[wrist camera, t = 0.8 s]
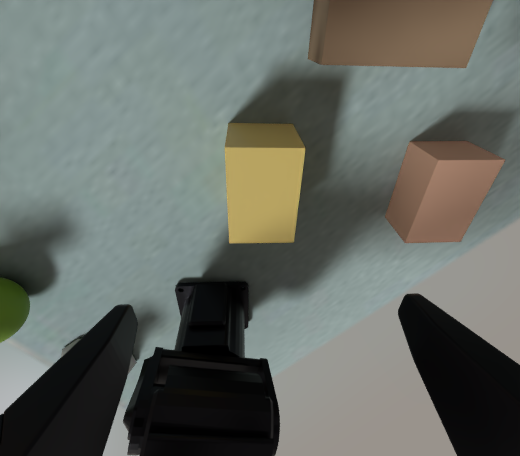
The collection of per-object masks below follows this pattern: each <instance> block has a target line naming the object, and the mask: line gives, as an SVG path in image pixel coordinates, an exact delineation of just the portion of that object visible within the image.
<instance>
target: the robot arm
mask: <svg viewBox="0 0 520 456" xmlns="http://www.w3.org/2000/svg"><path fill="white" fill-rule="evenodd" d="M180 288H182V289H180ZM175 292H176V297H177V301H178V306H179V310H180V315H181V321H180V326H179V331H178V336H177V340H176V345H175V350H167V349H163V348H160V347H156V348H155V352H154V355H153V356H152V357H150V358H148V359H145V360H144V363H143V366H142V370H141V373H140V376H139V380H138V383H137V385H136V388H135V390H134V392H133V395H132V397H131V400H130V402H129V405H128V407H127V409H126V412H125V415H124V419H123V423H124V425H125V426H126V428H127V430H128V432H129V433H128V440H130V442H129V447H128V455H140V456H275V454H276V450H277V446H278V442H279V432H280V431H279V430H280V416H279V407H278V402H277V398H276V394H275V390H274V385H273V381H272V377H271V373H270V369H269V364H268V360H267V359H264V358H260V359H252V358H245V345H244V329H246V328H247V327H248V284H247V283H246V282H204V283H178V284H177V285H176V288H175ZM398 316H399V319H400V322H401V325H402V328H403V331H404V334H405V337H406V340H407V342H408V346H409V349H410V351H411V354H412V357H413V360H414V362H415V364H416V367H417V369H418V371H419V373H420V375H421V378H422V380H423V382H424V384H425V386H426V389H427V391H428V393H429V395H430V397H431V400H432V401H433V404H434V406H435V408H436V410H437V413H438V415H439V417H440V419H441V421H442V424H443V426H444V428H445V430H446V432H447V434H448V437H449V439H450V441H451V443H452V445H453V447H454V450H455V452H456V454H457V456H520V365H519V364H518V363H516V362H515V361H513V360H512V359H511V358H509V357H508V356H506V355H505V354H504V353H502V352H501V351H499V350H498V349H496V348H495V347H494V346H492V345H491V344H489V343H488V342H487V341H485V340H484V339H482V338H481V337H480V336H478V335H477V334H475V333H474V332H472V331H471V330H470V329H468V328H467V327H465V326H464V325H463V324H461V323H460V322H458V321H457V320H456V319H454V318H453V317H451V316H450V315H448V314H447V313H446V312H444V311H443V310H442V309H440V308H439V307H437V306H436V305H434V304H433V303H432V302H430V301H429V300H427V299H426V298H424V297H423V296H422V295H420V294H406V295H405V296H404V298H403V300H402V303H401V305H400V307H399V309H398ZM137 326H138V322H137V318H136V316H135V313H134V310H133V308H132V306H131V305H129V304H124V305H117V306H115V307H114V308H113V309H112V310H111V311H110V312H109V313H108V314H107V315H106V316H104V317H103V318H102V319H101V320H100V321H99V322H98V323H97V324H96V325H95V326H94V327H93V328H92V329H91V330H90V331H89V332H88V333H86V334H85V335H84V336H83V337H82V338H81V339H80V340H79V341H78V342H77V343H76V344H75V345H74V346H73V347H72V348H71V349H70V350H69V351H67V352H66V353H65V354H64V355H63V356H62V357H61V358H60V359H59V360H58V361H57V362H56V363H55V364H54V365H53V366H52V367H51V368H49V369H48V370H47V371H46V372H45V373H44V374H43V375H42V376H41V377H40V378H39V379H38V380H37V381H36V382H35V383H34V384H33V385H32V386H30V387H29V388H28V389H27V390H26V391H25V392H24V393H23V394H22V395H21V396H20V397H19V398H18V399H17V400H16V401H15V402H14V403H12V404H11V405H10V406H9V407H8V408H7V409H6V410H5V412H4V414H1V415H0V456H102V455H103V451H104V449H105V445H106V442H107V439H108V436H109V433H110V429H111V426H112V423H113V420H114V417H115V414H116V411H117V408H118V404H119V401H120V398H121V395H122V392H123V389H124V386H125V382H126V379H127V375H128V371H129V366H130V362H131V357H132V352H133V347H134V342H135V337H136V332H137Z"/></svg>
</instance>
